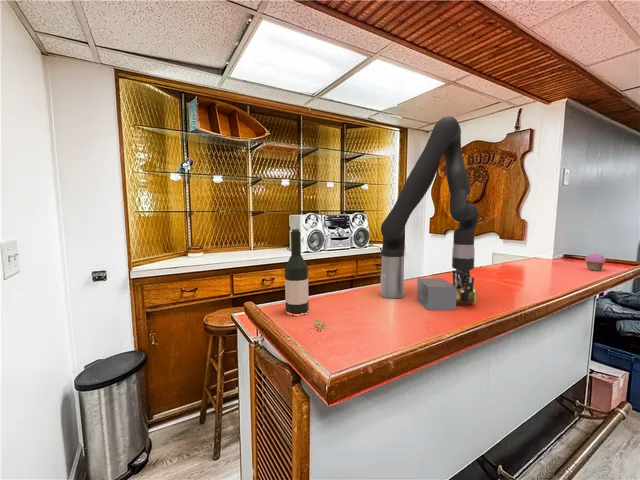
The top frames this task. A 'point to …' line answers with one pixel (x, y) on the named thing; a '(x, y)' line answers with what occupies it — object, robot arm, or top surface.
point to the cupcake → (595, 261)
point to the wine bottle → (296, 278)
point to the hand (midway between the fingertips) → (461, 300)
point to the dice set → (319, 324)
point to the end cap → (471, 296)
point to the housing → (436, 294)
